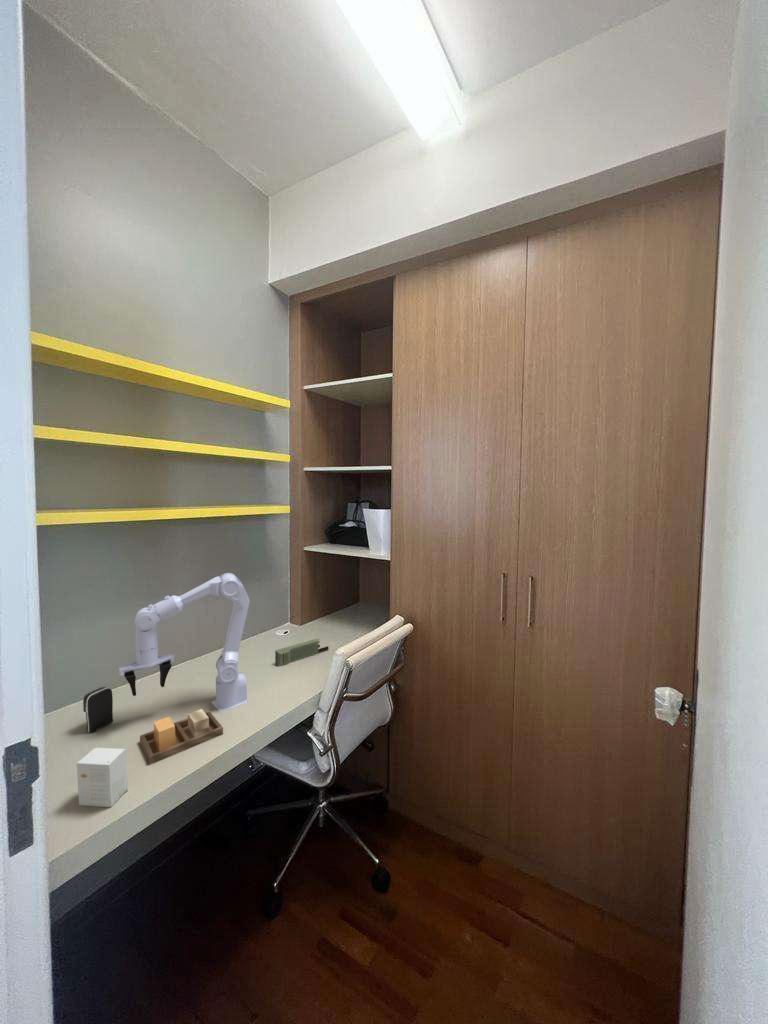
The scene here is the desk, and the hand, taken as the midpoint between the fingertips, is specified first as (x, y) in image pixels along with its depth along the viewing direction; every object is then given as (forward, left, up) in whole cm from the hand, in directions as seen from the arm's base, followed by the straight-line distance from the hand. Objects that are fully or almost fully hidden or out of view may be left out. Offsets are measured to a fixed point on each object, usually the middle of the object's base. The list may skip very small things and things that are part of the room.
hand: (148, 690), depth 122 cm
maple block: (-10, +16, -10) cm, 21 cm away
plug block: (0, +16, -10) cm, 18 cm away
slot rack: (-5, +16, -10) cm, 20 cm away
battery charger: (+12, -8, -11) cm, 18 cm away
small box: (+15, +26, -11) cm, 32 cm away
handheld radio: (-60, -8, -11) cm, 62 cm away
